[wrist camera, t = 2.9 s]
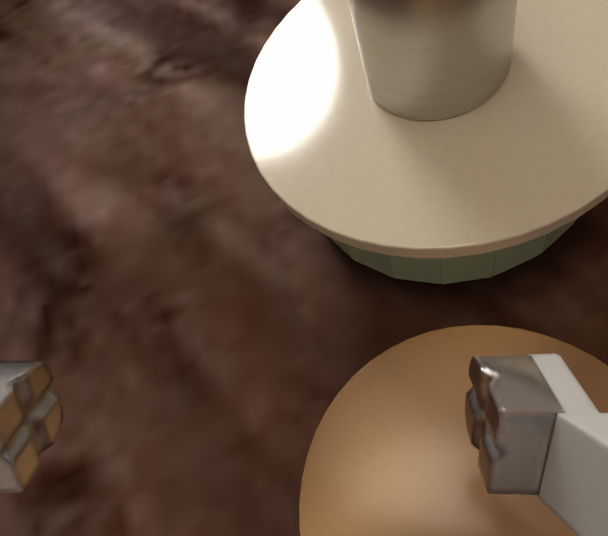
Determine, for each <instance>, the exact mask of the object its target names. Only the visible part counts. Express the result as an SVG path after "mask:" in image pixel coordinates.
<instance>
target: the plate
mask: <svg viewBox="0 0 608 536" xmlns="http://www.w3.org/2000/svg"><path fill="white" fill-rule="evenodd" d="M244 124H245V133H246V139H247V142H248V146H249V149H250V153H251V156H252V158H253V160H254V162H255V164H256V166H257V168H258V170H259V172H260V174H261V176H262V177H263V179H264V181H265V182H266V184H267V185H268V187H269V188H270V189H271V191H272V192H273V193H274V195H275V196H276V198H277V199H278V200H279V201H280V202H281V203H282V204H283V205H284V206H285V207H286V208H287V209H288V210H289V211H290V212H291V213H292V214H294V215H295V216H296V217H298V218H299V219H300V220H302V221H303V222H305V223H306V224H307V225H309V226H310V227H311V228H313V229H315V230H317V231H319V232H321V233H323V234H325V235H327V236H328V237H330V238H332V239H334V240H337V241H340V242H342V243H345V244H348V245H351V246H353V247H356V248H359V249H363V250H367V251H372V252H376V253H381V254H385V255H391V256H401V257H411V258H453V257H461V256H468V255H476V254H483V253H487V252H492V251H496V250H500V249H504V248H508V247H512V246H516V245H518V244H521V243H524V242H526V241H529V240H532V239H535V238H537V237H540V236H543V235H545V234H548V233H550V232H552V231H554V230H556V229H558V228H559V227H561V226H563V225H565V224H567V223H569V222H571V221H573V220H575V219H577V218H578V217H580V216H581V215H583V214H584V213H586V212H587V211H589V210H590V209H592V208H593V207H595V206H596V205H597V204H599V203H600V202H602V201H603V200H604V199H605V198H607V197H608V0H517V8H516V18H515V27H514V37H513V46H512V56H511V64H510V69H509V72H508V75H507V77H506V79H505V81H504V82H503V84H502V85H501V87H500V88H499V89H498V90H497V91H496V92H495V94H494V95H493V96H492V97H490V98H489V99H488V100H487V101H486V102H484V103H483V104H481V105H480V106H478V107H477V108H475V109H473V110H471V111H469V112H466V113H464V114H462V115H459V116H455V117H452V118H448V119H443V120H435V121H417V120H410V119H406V118H402V117H399V116H396V115H394V114H392V113H390V112H388V111H386V110H385V109H383V108H382V107H381V106H380V105H379V104H378V103H377V102H376V101H375V100H374V99H373V98H372V96H371V95H370V92H369V90H368V88H367V84H366V80H365V75H364V71H363V66H362V62H361V57H360V53H359V48H358V44H357V39H356V34H355V30H354V25H353V21H352V16H351V12H350V7H349V3H348V0H301V1H300V2H299V3H298V4H297V5H296V6H295V7H294V8H293V9H292V10H291V11H290V12H289V13H288V14H287V15H286V16H285V18H284V19H283V20H282V21H281V22H280V24H279V25H278V26H277V27H276V28H275V30H274V31H273V33H272V34H271V36H270V37H269V38H268V40H267V41H266V43H265V44H264V46H263V48H262V50H261V52H260V54H259V56H258V58H257V60H256V62H255V64H254V67H253V70H252V72H251V75H250V78H249V81H248V86H247V91H246V95H245V105H244Z"/></svg>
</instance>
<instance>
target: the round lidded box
mask: <svg viewBox="0 0 608 536" xmlns="http://www.w3.org/2000/svg"><path fill="white" fill-rule="evenodd" d="M576 220H577V219H575V220H573V221H571V222H569V223H567V224H565V225H563V226H561V227H559V228H558V229H556V230H554V231H552V232H550V233H548V234H545V235H543V236H540V237H537V238H535V239H532V240H529V241H526V242H524V243H521V244H518V245H516V246H512V247H508V248H504V249H500V250H496V251H492V252H487V253H483V254H476V255H468V256H461V257H453V258H411V257H401V256H391V255H385V254H381V253H376V252H372V251H367V250H363V249H359V248H356V247H353V246H351V245H348V244H345V243H342V242H340V241H337V240H334V239H332V238H331V239H332V240H333V241H334V242H335V243H336V244H337V245H338V246H339V247H340V248H341V249H342V250H343V251H344V252H345V253H346V254H348V255H349V256H350V257H351V258H352V259H354V260H355V261H357V262H359V263H361V264H363V265H366V266H368V267H370V268H372V269H374V270H377V271H379V272H381V273H383V274H385V275H388V276H390V277H392V278H396V279H404V280H412V281H419V282H427V283H435V284H450V283H456V282H463V281H469V280H476V279H482V278H489V277H493V276H495V275H498V274H500V273H502V272H504V271H506V270H508V269H510V268H513V267H515V266H517V265H519V264H521V263H523V262H526V261H528V260H530V259H532V258H534V257H536V256H538V255H540V254H541V253H543V252H544V251H545V250H546V249H547V248H548V247H549V246H550V245H551V244H552V243H553V242H554V241H556V240H557V239H558V238H559V237H560V236H561V235H562V234H563V233H564V232H565V231H566V230H567V229H569V228H570V227H571V226H572V225H573V224H574V222H575V221H576Z"/></svg>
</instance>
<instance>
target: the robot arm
mask: <svg viewBox="0 0 608 536" xmlns="http://www.w3.org/2000/svg"><path fill="white" fill-rule="evenodd" d="M468 375H469V377H470V380H471V383H472V385H473V387H472V388H471V389H470V390H469V391H468V392H467V393H466V399H465V422H466V427H467V432H468V436H469V439H470V442H471V444H472V445H473V446H474V447H476V448H477V449H478V450H479V456H478V466H479V469H480V472H481V475H482V478H483V481H484V484H485V487H486V489H487V492H488V494H512V495H539V497H538V498H539V499H540V500H541V501H542V502H543V503H544V504H545V505H546V506H548V507H549V508H550V509H551V510H552V511H553V512H554V513H555V514H556V515H557V516H558V517H559V518H560V519H561V520H562V521H563V522H564V523H565V524H566V525H567V526H568V527H569V528H571V529H572V530H573V531H574V532H575V533H576V534H577V535H578V536H608V413H600V412H599V411H598V410H597V408H596V407H595V405H594V404H593V402H592V401H591V399H590V398H589V397H588V395H587V394H586V392H585V391H584V389H583V388H582V386H581V385H580V384H579V382H578V381H577V379H576V378H575V376H574V375H573V373H572V372H571V371H570V369H569V368H568V366H567V365H566V363H565V362H564V361H563V359H562V358H561V356H559V355H558V354H556V353H549V354H528V355H514V356H472V359H471V361H470V365H469V373H468ZM53 379H54V378H53V375H52V373H51V370H50V368H49V365H48V364H46V363H44V362H42V361H0V493H20V492H23V491H24V489H25V487H26V486H27V484H28V483H29V481H30V480H31V478H32V476H33V475H34V473H35V472H36V470H37V469H38V467H39V466H40V464H41V462H40V458H39V454H40V453H41V452H43V451H44V450H46V449H47V448H49V447H50V446H52V445H53V443H54V442H55V440H56V438H57V437H58V435H59V433H60V430H61V425H62V421H63V406H62V403H61V400H60V397H59V396H58V395H57V394H56V393H55V392H54V391H53V390H51V389H50V388H49V386H50V384H51V382H52V380H53Z"/></svg>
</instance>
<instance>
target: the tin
mask: <svg viewBox="0 0 608 536" xmlns="http://www.w3.org/2000/svg"><path fill="white" fill-rule="evenodd" d="M348 3H349V7H350V12H351V16H352V21H353V25H354V30H355V34H356V39H357V44H358V48H359V53H360V57H361V62H362V66H363V71H364V75H365V80H366V84H367V88H368V90H369V92H370V95H371V96H372V98H373V99H374V100H375V101H376V102H377V103H378V104H379V105H380V106H381V107H382V108H383V109H385V110H386V111H388V112H390V113H392V114H394V115H396V116H399V117H402V118H406V119H410V120H417V121H435V120H443V119H448V118H452V117H455V116H459V115H462V114H464V113H466V112H469V111H471V110H473V109H475V108H477V107H478V106H480V105H481V104H483V103H484V102H486V101H487V100H488V99H489V98H490V97H492V96H493V95H494V94H495V92H496V91H497V90H498V89H499V88H500V87H501V85H502V84H503V82H504V81H505V79H506V77H507V75H508V72H509V69H510V64H511V56H512V46H513V37H514V27H515V18H516V8H517V0H348Z"/></svg>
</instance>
